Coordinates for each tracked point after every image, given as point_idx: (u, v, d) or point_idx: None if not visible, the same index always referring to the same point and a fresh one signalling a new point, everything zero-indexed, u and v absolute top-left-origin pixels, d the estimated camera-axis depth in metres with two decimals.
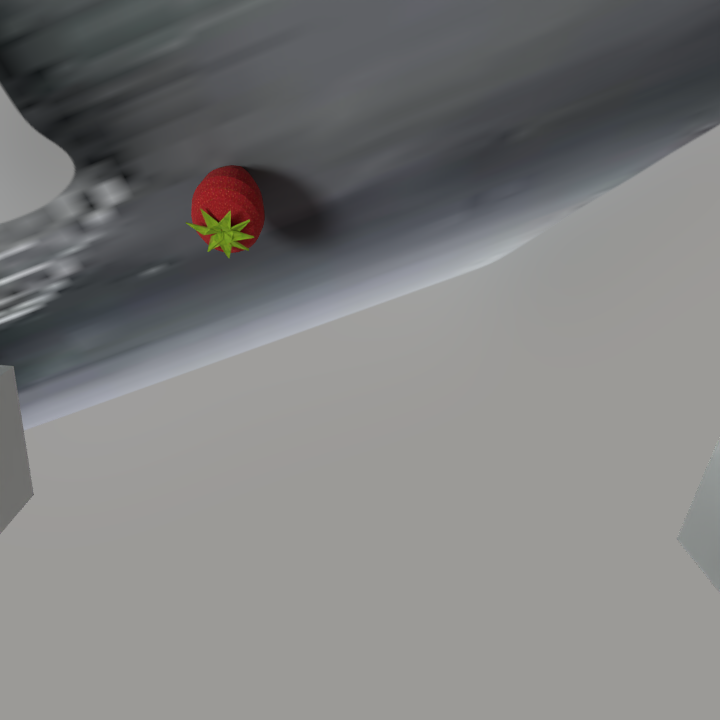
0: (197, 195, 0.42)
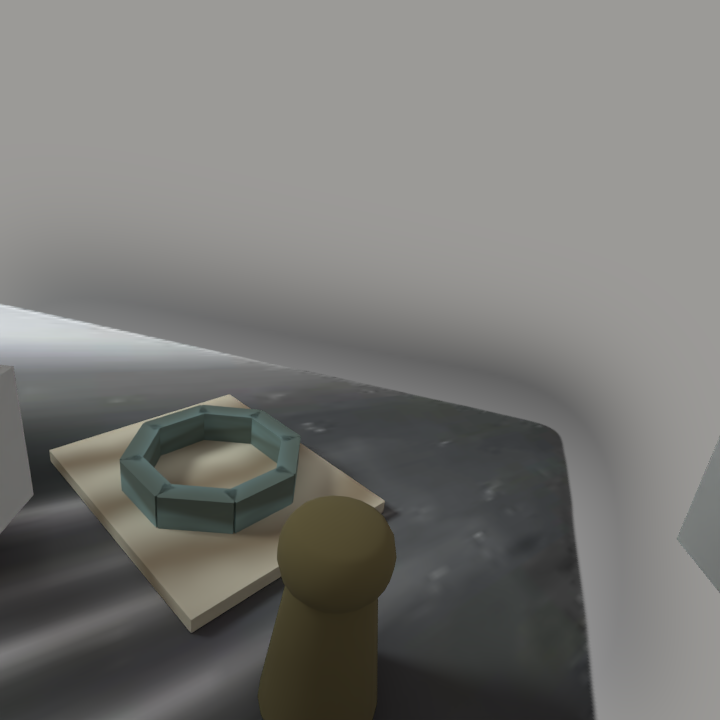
0: None
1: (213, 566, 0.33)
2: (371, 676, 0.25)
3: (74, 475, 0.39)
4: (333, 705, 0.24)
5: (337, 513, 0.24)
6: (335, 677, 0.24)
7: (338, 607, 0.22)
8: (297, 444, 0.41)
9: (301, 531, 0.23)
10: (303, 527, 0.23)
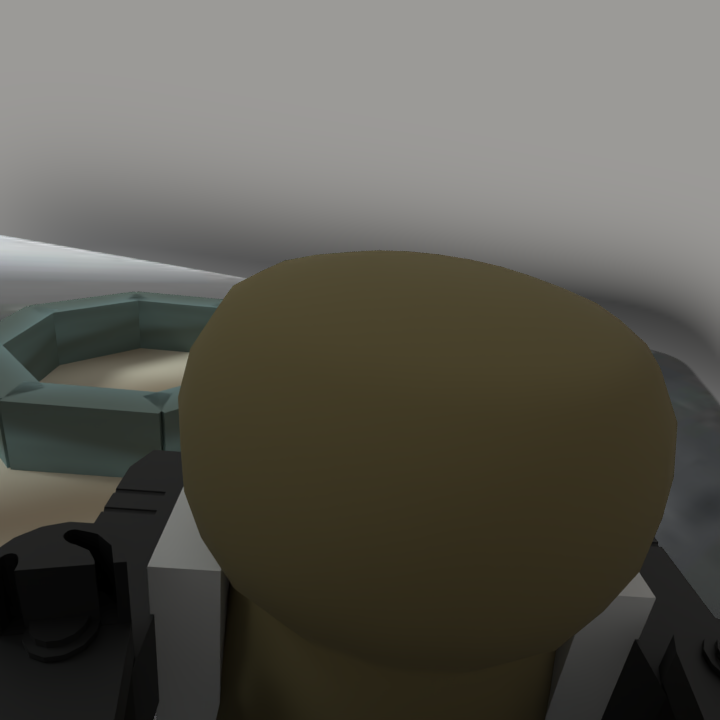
0: None
1: None
2: None
3: None
4: None
5: (420, 261, 0.06)
6: None
7: (460, 647, 0.04)
8: None
9: (270, 295, 0.05)
10: (282, 286, 0.05)
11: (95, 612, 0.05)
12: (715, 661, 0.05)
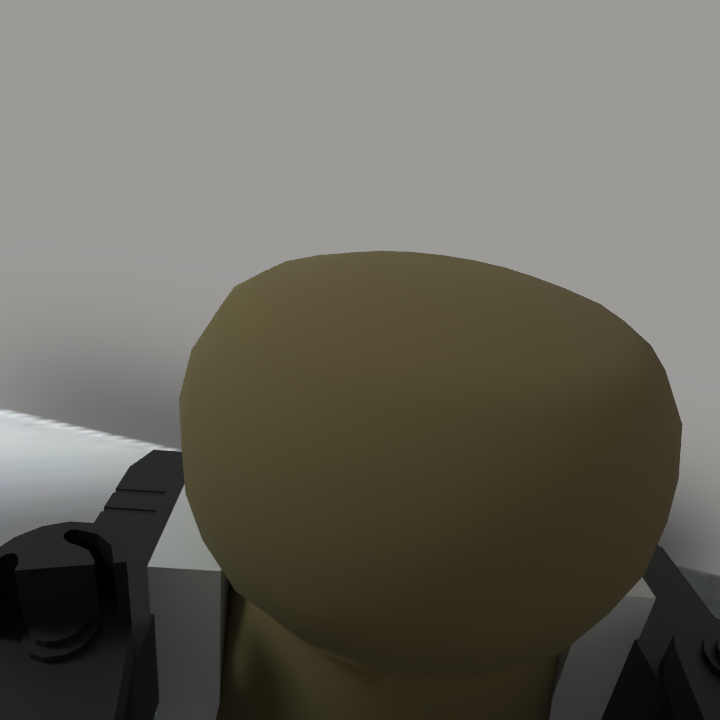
0: None
1: None
2: None
3: None
4: None
5: (423, 261, 0.06)
6: None
7: (466, 651, 0.04)
8: None
9: (272, 295, 0.05)
10: (284, 287, 0.05)
11: (95, 612, 0.05)
12: (715, 661, 0.05)
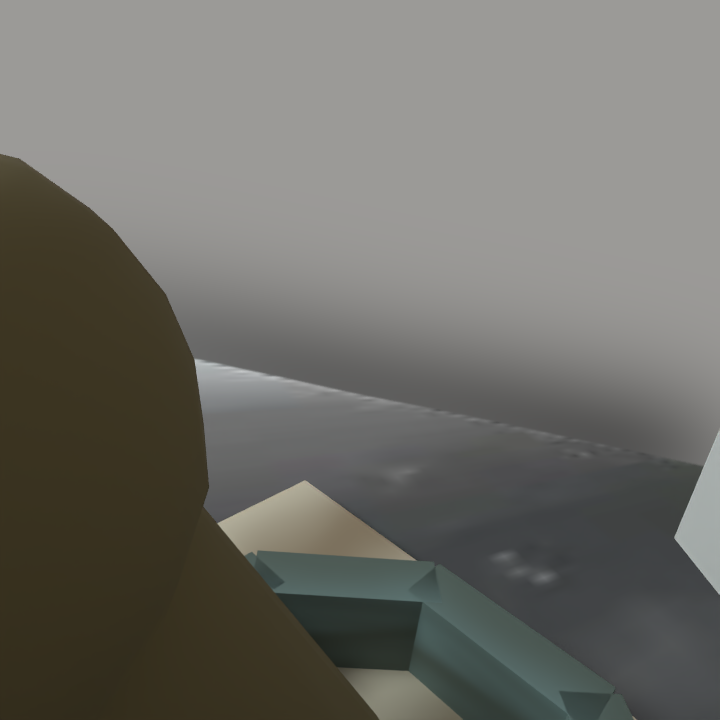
0: None
1: None
2: None
3: None
4: None
5: None
6: None
7: None
8: None
9: None
10: None
11: None
12: None
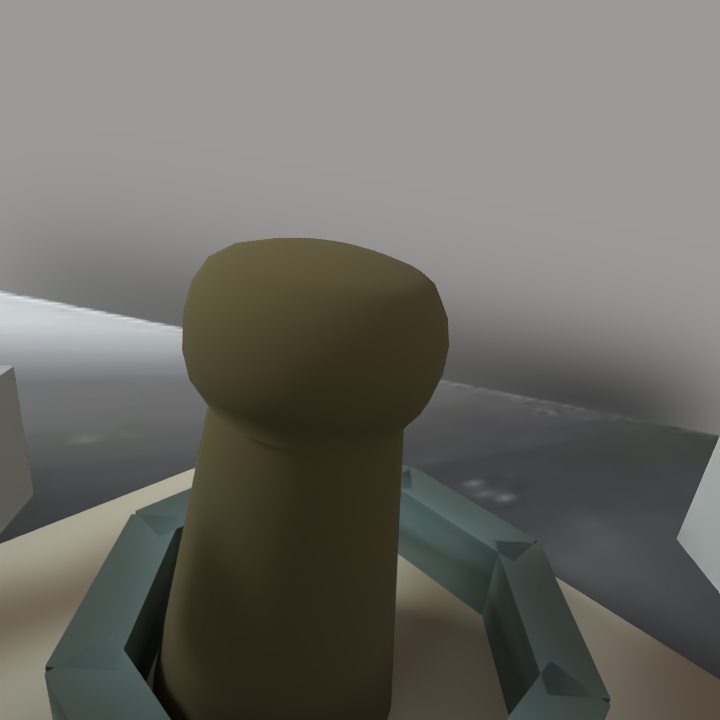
0: None
1: None
2: (381, 636, 0.12)
3: None
4: (290, 686, 0.11)
5: (321, 242, 0.11)
6: (298, 618, 0.10)
7: (304, 412, 0.09)
8: (547, 570, 0.15)
9: (233, 250, 0.10)
10: (240, 247, 0.10)
11: None
12: None
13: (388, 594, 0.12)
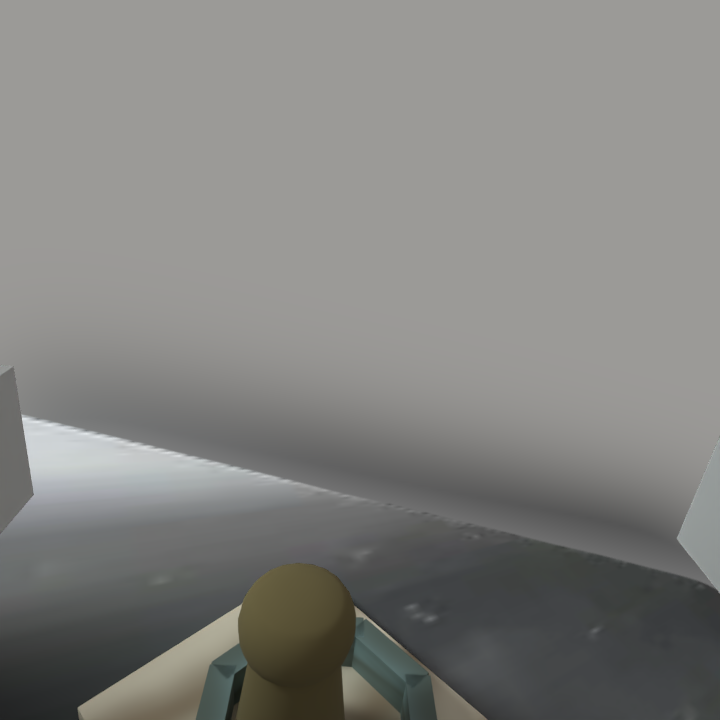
0: None
1: None
2: None
3: None
4: None
5: (297, 584, 0.24)
6: None
7: (292, 682, 0.22)
8: (430, 694, 0.29)
9: (258, 604, 0.23)
10: (261, 599, 0.23)
11: None
12: None
13: None
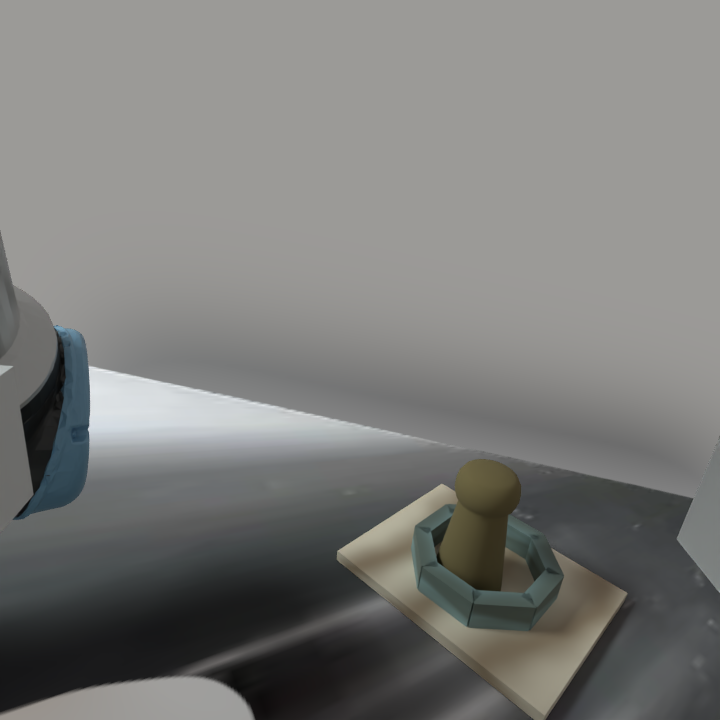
0: None
1: (532, 663, 0.40)
2: (503, 561, 0.45)
3: (372, 576, 0.46)
4: (484, 573, 0.44)
5: (489, 466, 0.44)
6: (487, 556, 0.44)
7: (494, 513, 0.42)
8: (547, 543, 0.49)
9: (472, 474, 0.43)
10: (473, 473, 0.43)
11: None
12: None
13: (504, 550, 0.45)
